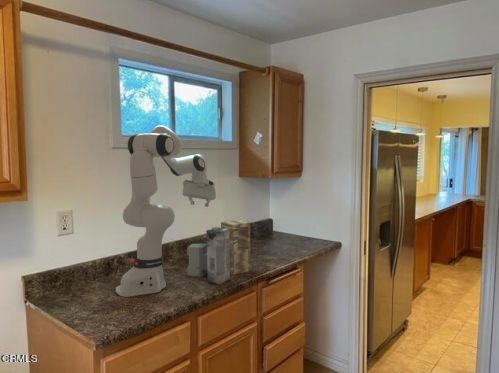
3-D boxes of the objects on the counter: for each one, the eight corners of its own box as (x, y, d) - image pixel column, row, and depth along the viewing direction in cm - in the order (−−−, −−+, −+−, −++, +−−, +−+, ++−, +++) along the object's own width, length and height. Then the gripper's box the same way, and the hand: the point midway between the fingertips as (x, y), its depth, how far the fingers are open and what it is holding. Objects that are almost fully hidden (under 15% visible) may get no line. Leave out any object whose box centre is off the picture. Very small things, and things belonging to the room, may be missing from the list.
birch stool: (231, 275, 194) (231, 225, 192) (221, 270, 202) (220, 222, 200) (250, 270, 201) (250, 222, 199) (240, 266, 209) (239, 219, 207)
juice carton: (232, 279, 187) (231, 225, 185) (219, 285, 178) (218, 229, 176) (217, 276, 191) (217, 224, 189) (204, 282, 183) (203, 227, 180)
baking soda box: (231, 254, 234) (231, 229, 233) (224, 252, 238) (224, 227, 237) (242, 251, 241) (242, 226, 239) (235, 250, 245) (235, 225, 244)
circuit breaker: (214, 277, 190) (213, 248, 189) (187, 275, 193) (187, 246, 192) (218, 272, 198) (218, 244, 196) (192, 271, 201) (192, 243, 199)
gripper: (186, 177, 208) (186, 201, 204) (216, 183, 220) (217, 206, 216) (180, 180, 212) (180, 204, 208) (210, 186, 225) (211, 209, 221)
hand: (199, 205), depth 212 cm, fingers open, 8 cm apart
